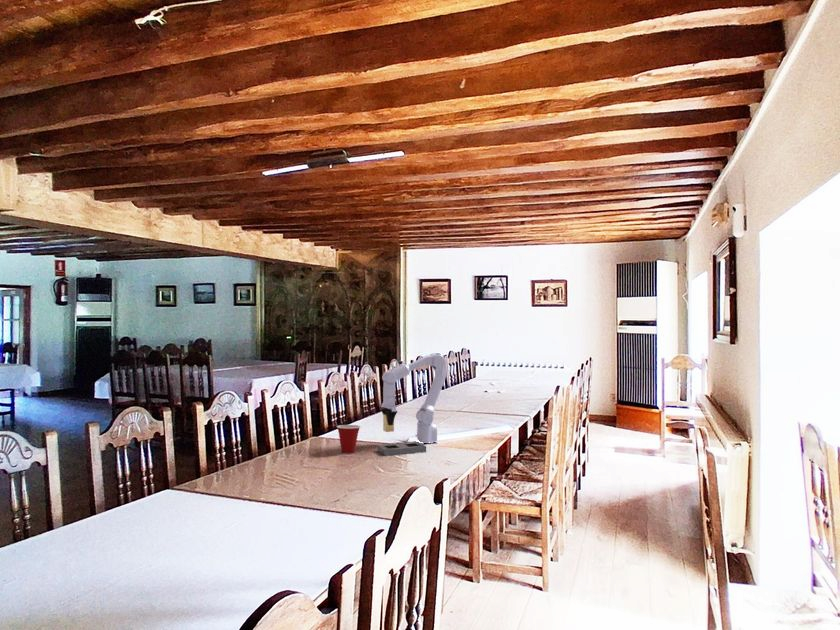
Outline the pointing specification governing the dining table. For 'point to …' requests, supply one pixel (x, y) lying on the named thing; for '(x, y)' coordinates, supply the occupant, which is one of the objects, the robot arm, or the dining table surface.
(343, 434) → the plastic cup
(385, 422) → the wooden peg
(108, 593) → the dining table surface
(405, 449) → the steel frame
